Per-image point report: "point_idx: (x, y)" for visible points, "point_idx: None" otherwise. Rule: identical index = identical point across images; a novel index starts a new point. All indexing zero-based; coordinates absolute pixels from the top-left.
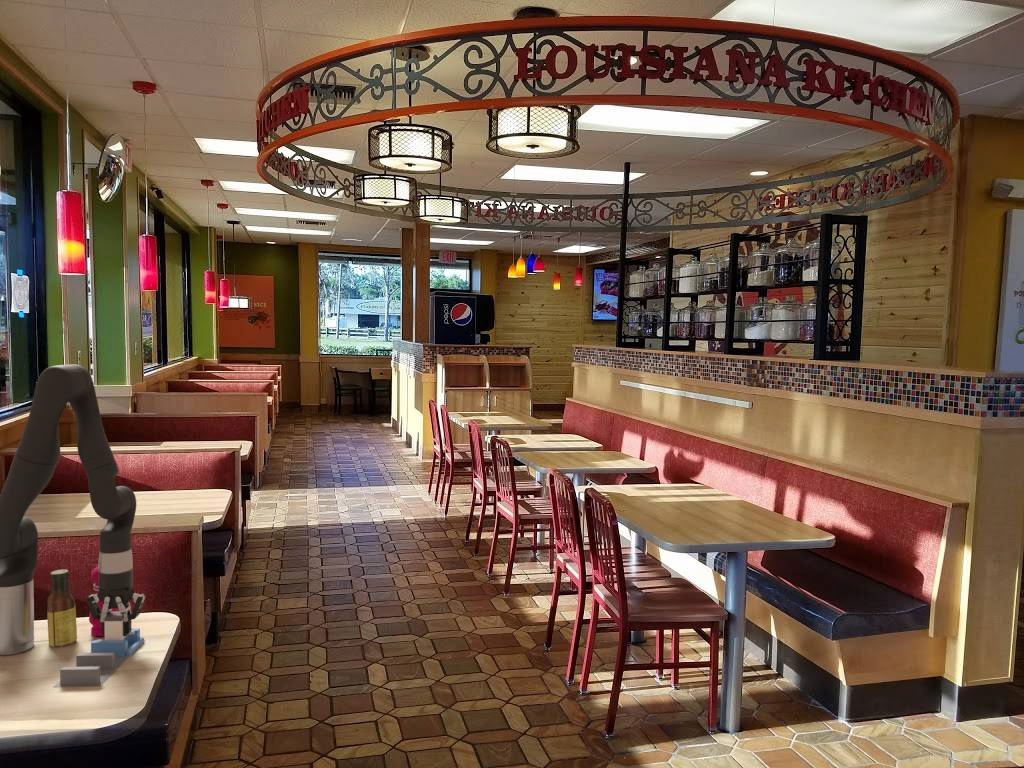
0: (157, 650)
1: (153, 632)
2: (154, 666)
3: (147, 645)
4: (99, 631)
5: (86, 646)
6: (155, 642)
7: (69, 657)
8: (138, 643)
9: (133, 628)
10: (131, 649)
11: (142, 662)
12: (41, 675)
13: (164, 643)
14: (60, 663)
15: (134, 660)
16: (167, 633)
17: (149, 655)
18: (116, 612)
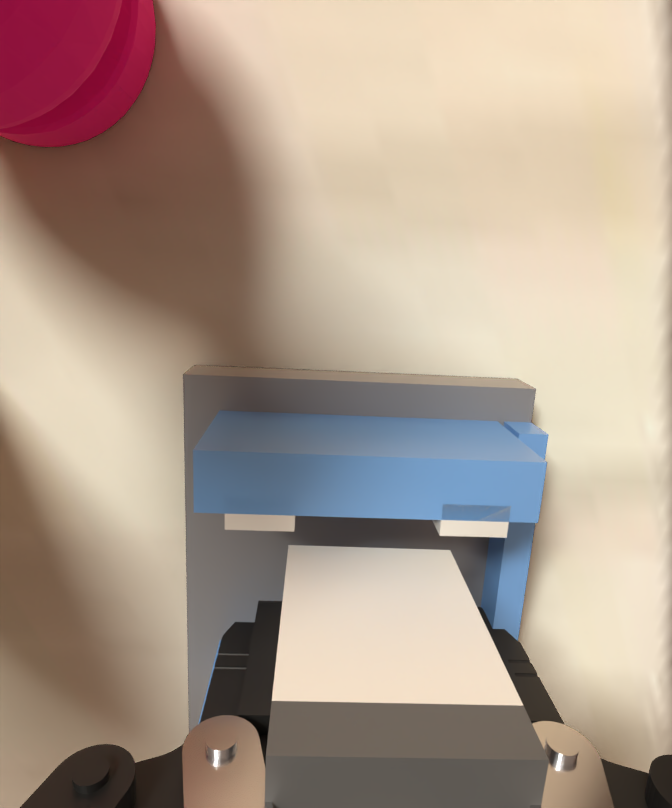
0: (625, 468)
1: (511, 53)
2: (651, 710)
3: (529, 368)
4: (20, 136)
5: (41, 358)
6: (579, 308)
7: (25, 557)
8: (528, 548)
9: (478, 460)
10: None
11: (564, 654)
12: (3, 799)
13: (655, 335)
14: (19, 647)
15: None
16: (645, 93)
17: (586, 551)
18: (370, 802)
